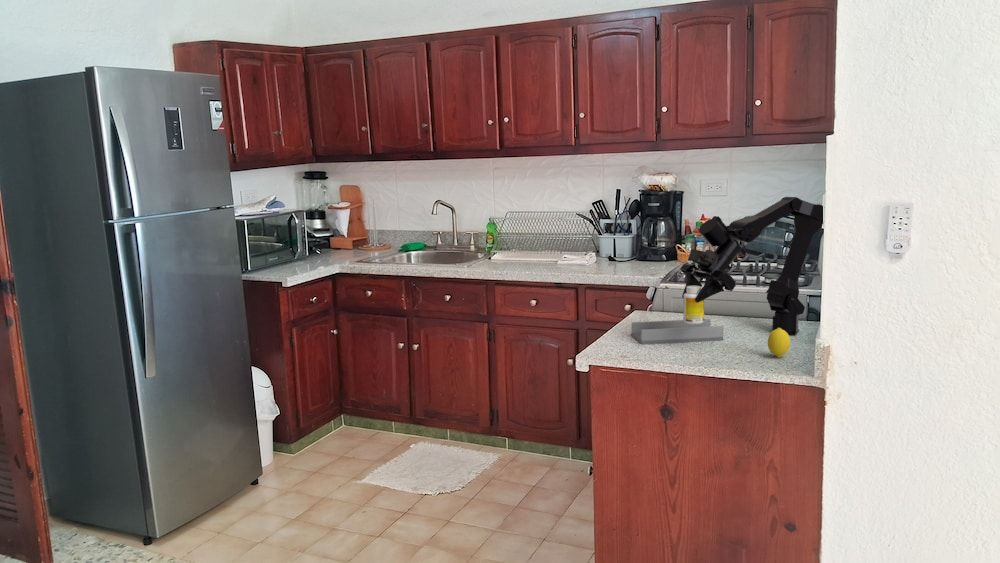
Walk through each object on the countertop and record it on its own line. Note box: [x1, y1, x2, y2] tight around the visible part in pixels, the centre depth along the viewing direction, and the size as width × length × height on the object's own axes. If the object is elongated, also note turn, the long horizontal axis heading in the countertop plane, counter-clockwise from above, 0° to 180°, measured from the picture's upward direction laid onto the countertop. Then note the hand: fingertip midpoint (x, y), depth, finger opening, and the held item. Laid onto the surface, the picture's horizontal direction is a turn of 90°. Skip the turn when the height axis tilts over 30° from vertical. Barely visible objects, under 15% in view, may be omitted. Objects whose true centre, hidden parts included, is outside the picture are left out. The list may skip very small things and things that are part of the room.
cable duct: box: [630, 318, 724, 345], centre depth 231 cm, size 24×11×4 cm, turn 95°
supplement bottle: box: [683, 286, 705, 324], centre depth 219 cm, size 6×6×10 cm
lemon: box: [767, 328, 791, 358], centre depth 206 cm, size 6×6×8 cm
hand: (689, 299), depth 219 cm, fingers closed on supplement bottle, 5 cm apart
